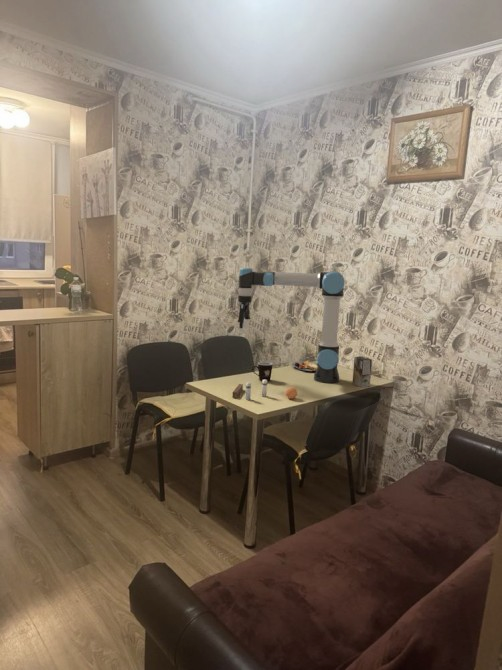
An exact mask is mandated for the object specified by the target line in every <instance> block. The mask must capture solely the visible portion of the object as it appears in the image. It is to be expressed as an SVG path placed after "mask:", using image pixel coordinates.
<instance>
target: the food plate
mask: <svg viewBox="0 0 502 670" xmlns="http://www.w3.org/2000/svg"><path fill="white" fill-rule="evenodd" d="M317 366H318V362H317V361H310V360H309V359H306V360H304V361H295V362H293V363H291V367H294V368H296V369H298V370H299V371H305V372H315V371H316V369H317Z"/></svg>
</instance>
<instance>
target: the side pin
mask: <svg viewBox="0 0 502 670" xmlns="http://www.w3.org/2000/svg"><path fill="white" fill-rule="evenodd" d="M251 389H252V383H251V382H248V381H247V382H245V400H246V401H251V396H252V395H251V393H252V392H251Z"/></svg>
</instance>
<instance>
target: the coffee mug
mask: <svg viewBox="0 0 502 670" xmlns="http://www.w3.org/2000/svg"><path fill="white" fill-rule="evenodd" d="M273 365H274V364H273V363H272V362H269V361H260V362H258V363H257V365H255V366H252V369H251V371H252V373H254V374H255V375H256V376H258V381H260V382H262V380H267V383H268V382H270V381H271V377H272V372H273ZM255 368H257V370H258V373H257V372H255V371H254V369H255Z"/></svg>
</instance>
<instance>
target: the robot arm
mask: <svg viewBox="0 0 502 670" xmlns="http://www.w3.org/2000/svg"><path fill="white" fill-rule="evenodd" d="M238 271H239V274H238V289H237V292H238V297H237V299H238V302H239V303H241V304H239V314H238V319H237V323H238V334H239V335H244V334H245V331H249V326H250V325H249V324H250V322H249V321H250V320H251V317H250V316H251V315H250V304H251V303H252V294H253V293H252V292H253V286H261V287H272V286H290V287H308V288H309V287H311V288H312V287H313V288H317V289H319V290H321V296H322V298H323V310H322V311H323V313H322V314H323V315H322V325H321V326H322V328H321V341H319V342H318V345H317V357H316V362H318V366H317V369H316V372H315V371H314V375H313V380H314V381H316V382H320V383H325V384H326V383H327V384H334V383H338V382H339V383H340V374H339V369H338V363H339V357H340V355H339V354H340V352H339V351H340V344H339V343H338V331H339V329H338V328H339V321H340V320H339V319H340V318H339V317H340V305H341V304H340V302H341V300H342V298H344V292H345V291H344V290H345V289H344V287H345V283H346V282H345V277H344V276H343V275H342V274H341V272H339V271H335V270H332V271H325V272H324V271H322V272H321V271H320V272H318V273H310V272H309V273H302V272H281V271H276V272H275V271H263V272H262V271H261V272H260V271H257V272H256V271H253V268H250V267H249V268H248V267H241V268H239V270H238Z"/></svg>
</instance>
